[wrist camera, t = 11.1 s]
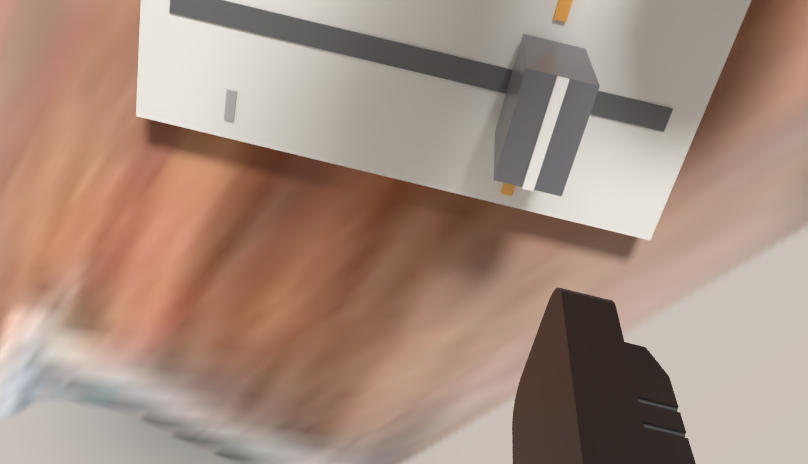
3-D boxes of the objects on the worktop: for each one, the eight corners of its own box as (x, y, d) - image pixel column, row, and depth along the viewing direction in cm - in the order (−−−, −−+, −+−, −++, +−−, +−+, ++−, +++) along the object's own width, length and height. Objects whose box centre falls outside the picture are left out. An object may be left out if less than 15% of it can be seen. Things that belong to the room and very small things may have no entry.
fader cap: (523, 33, 35) (526, 69, 30) (585, 48, 35) (600, 87, 30) (494, 132, 38) (493, 182, 32) (553, 146, 38) (561, 198, 32)
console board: (164, -154, 36) (145, -153, 34) (742, -15, 36) (755, -6, 34) (151, 104, 42) (134, 117, 40) (644, 223, 42) (650, 242, 40)
